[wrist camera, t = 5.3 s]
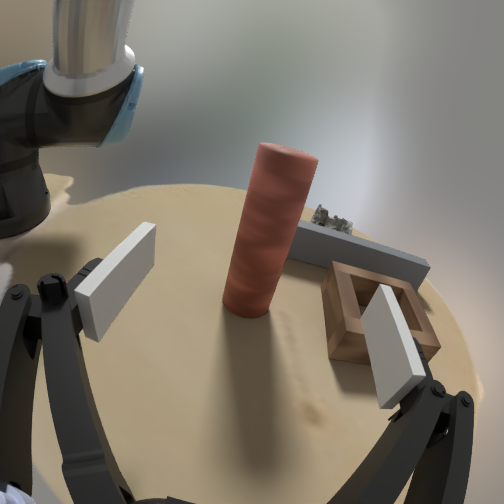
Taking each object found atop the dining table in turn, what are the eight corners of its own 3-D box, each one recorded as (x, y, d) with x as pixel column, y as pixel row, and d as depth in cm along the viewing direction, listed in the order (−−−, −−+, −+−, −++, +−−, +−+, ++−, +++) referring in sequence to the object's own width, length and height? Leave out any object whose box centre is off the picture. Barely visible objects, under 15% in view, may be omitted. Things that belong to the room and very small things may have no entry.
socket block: (328, 358, 25) (346, 330, 23) (320, 286, 35) (332, 260, 33) (420, 370, 25) (441, 347, 23) (396, 304, 35) (409, 282, 33)
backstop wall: (264, 251, 40) (273, 219, 37) (265, 243, 42) (274, 212, 39) (416, 292, 40) (430, 267, 37) (411, 283, 42) (424, 259, 39)
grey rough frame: (312, 220, 55) (319, 202, 53) (347, 234, 54) (354, 216, 52) (302, 240, 46) (310, 218, 44) (343, 256, 45) (353, 235, 43)
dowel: (218, 310, 27) (255, 147, 19) (227, 281, 32) (261, 140, 24) (266, 323, 27) (321, 166, 19) (270, 293, 32) (315, 155, 24)
